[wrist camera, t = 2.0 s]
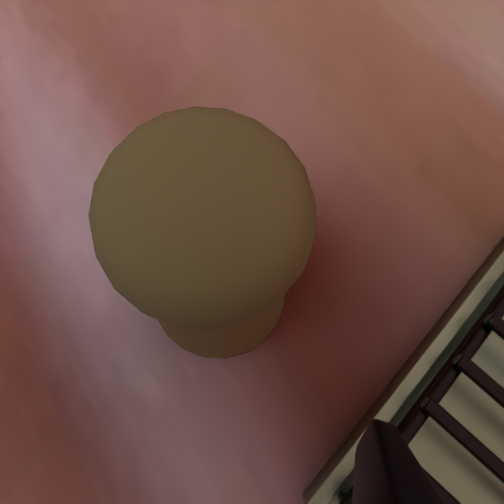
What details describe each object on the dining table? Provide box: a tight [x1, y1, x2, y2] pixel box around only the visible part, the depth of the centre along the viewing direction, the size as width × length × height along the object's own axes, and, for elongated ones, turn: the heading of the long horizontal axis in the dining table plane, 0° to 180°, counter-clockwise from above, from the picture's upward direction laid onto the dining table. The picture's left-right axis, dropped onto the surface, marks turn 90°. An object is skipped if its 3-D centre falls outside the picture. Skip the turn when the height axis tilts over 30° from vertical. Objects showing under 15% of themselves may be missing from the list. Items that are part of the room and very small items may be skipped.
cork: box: [89, 107, 315, 358], centre depth 13 cm, size 6×6×11 cm
